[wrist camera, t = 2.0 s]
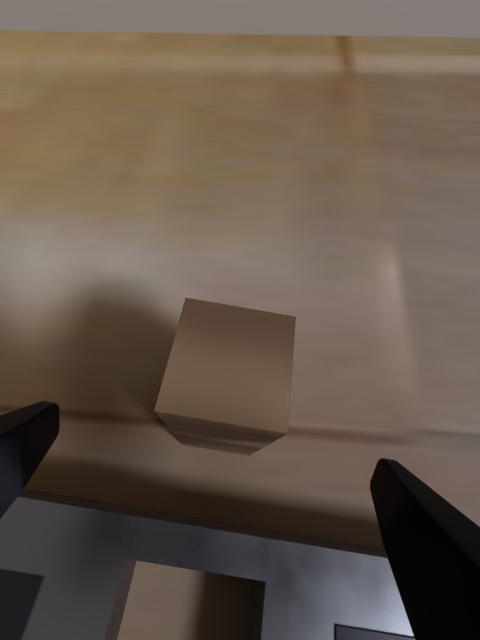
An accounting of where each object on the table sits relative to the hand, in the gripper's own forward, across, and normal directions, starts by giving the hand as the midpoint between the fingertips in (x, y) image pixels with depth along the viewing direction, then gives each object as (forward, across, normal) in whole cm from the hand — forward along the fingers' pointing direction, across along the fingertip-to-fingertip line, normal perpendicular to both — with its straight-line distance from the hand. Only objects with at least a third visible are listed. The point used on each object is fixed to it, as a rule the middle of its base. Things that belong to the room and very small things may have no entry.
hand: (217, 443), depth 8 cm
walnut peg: (+9, 0, +6) cm, 11 cm away
